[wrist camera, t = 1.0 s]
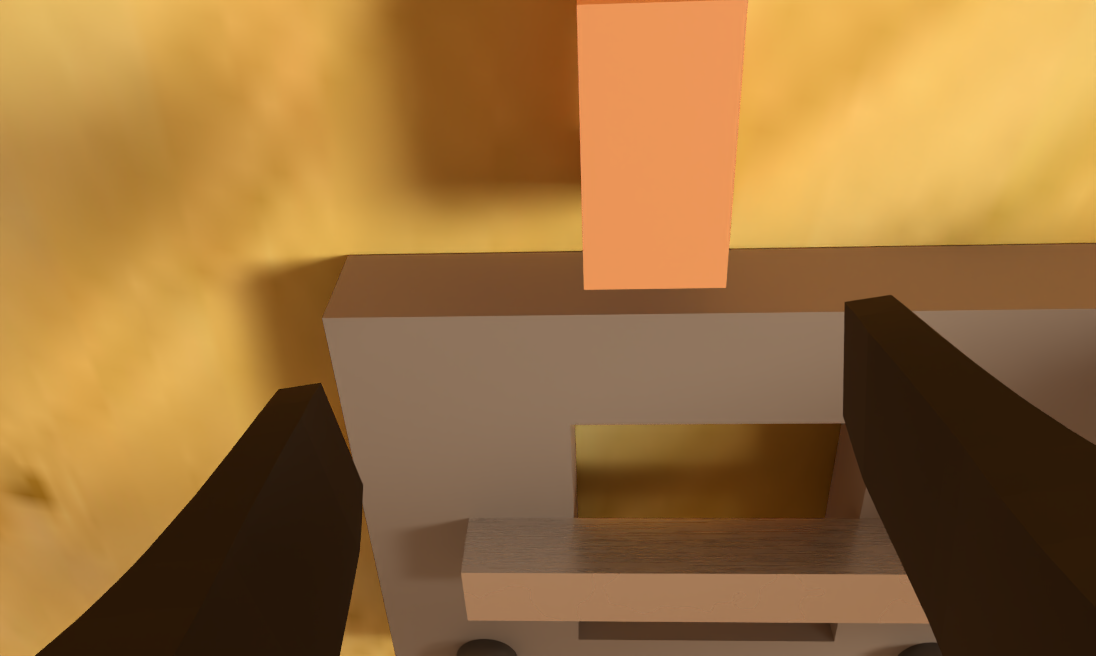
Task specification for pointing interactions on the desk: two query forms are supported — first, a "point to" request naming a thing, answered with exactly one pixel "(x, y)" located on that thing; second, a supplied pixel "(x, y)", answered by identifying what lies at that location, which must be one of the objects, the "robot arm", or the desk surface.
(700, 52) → the orange rectangular block
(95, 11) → the desk surface
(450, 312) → the grey slotted tray
